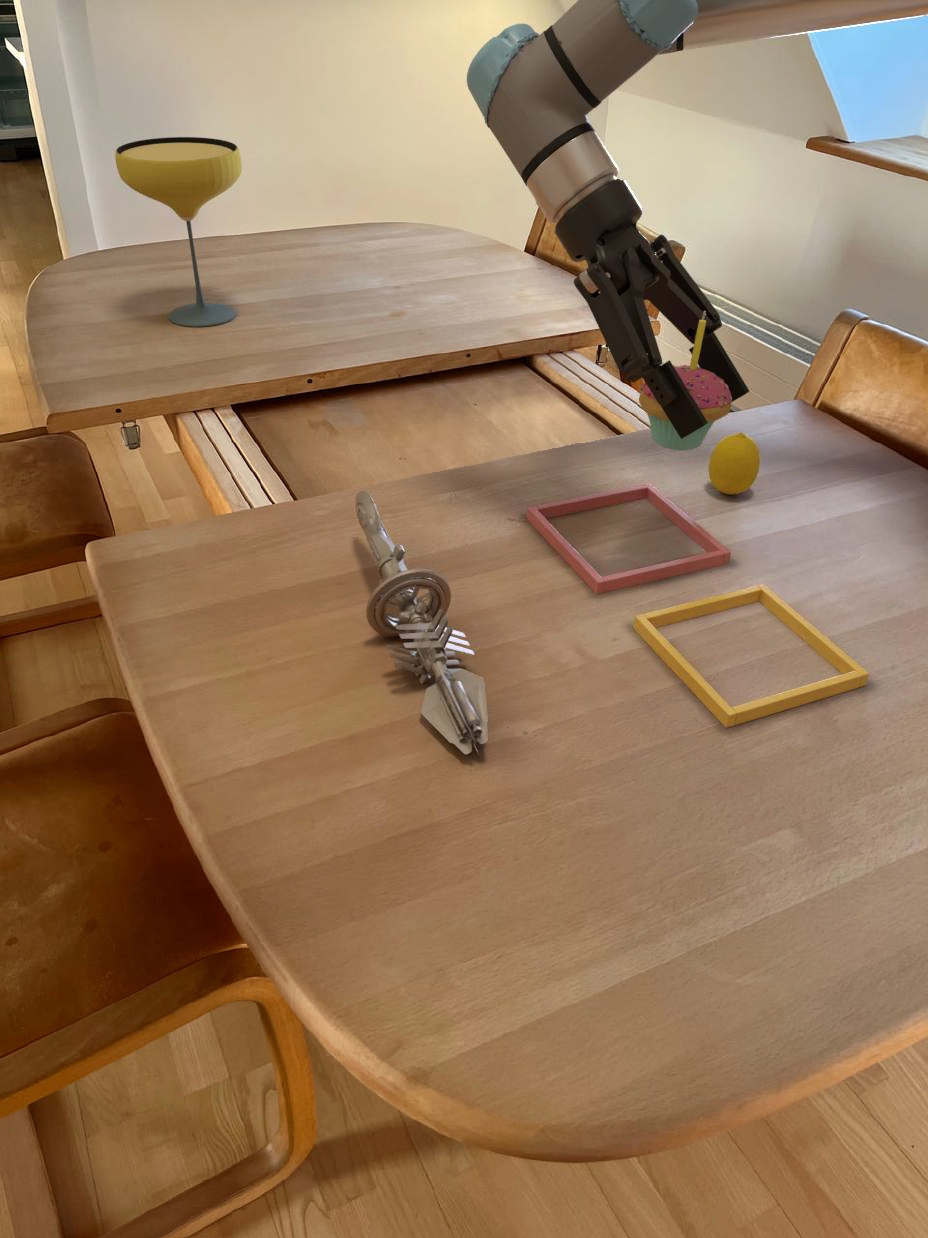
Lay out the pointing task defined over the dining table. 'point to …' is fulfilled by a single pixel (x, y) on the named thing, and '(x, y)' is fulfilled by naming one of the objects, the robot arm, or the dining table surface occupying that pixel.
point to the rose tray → (638, 576)
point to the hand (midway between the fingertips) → (716, 414)
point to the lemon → (734, 464)
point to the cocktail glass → (183, 195)
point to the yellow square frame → (768, 705)
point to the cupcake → (705, 393)
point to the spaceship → (424, 635)
